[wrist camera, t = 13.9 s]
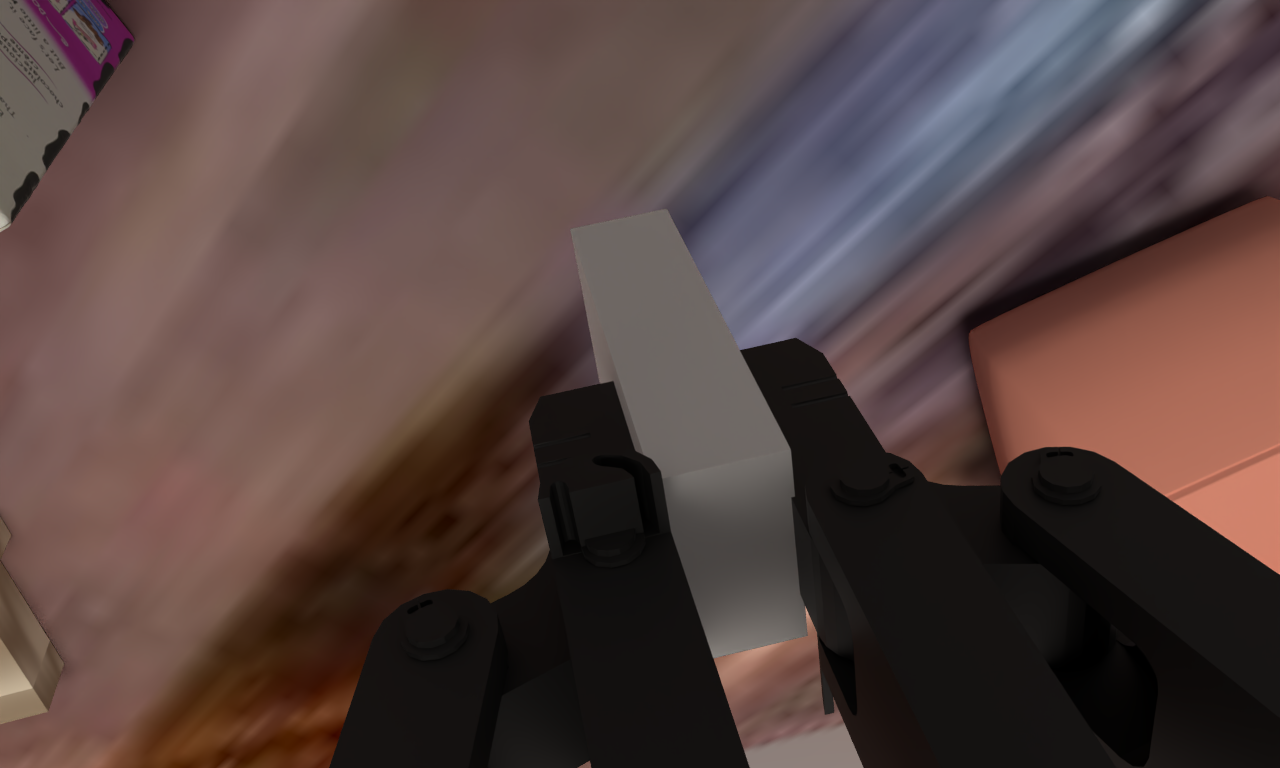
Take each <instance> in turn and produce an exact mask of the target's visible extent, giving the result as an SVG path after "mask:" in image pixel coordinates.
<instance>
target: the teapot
mask: <svg viewBox="0 0 1280 768" xmlns="http://www.w3.org/2000/svg"><path fill="white" fill-rule="evenodd" d="M969 347H970V353H971V359H972V364H973V368H974V373H975V377H976V382H977V386H978V390H979V394H980V398H981V402H982V406H983V410H984V414H985V418H986V422H987V426H988V429H989V433H990V437H991V441H992V445H993V449H994V452H995V456H996V460H997V463H998V467H999V470H1000V474H1001V475H1002V473H1003V472H1004V470H1005V468H1006V466H1007V464H1008V463H1009V462H1010V461H1012V460H1013V459H1015V458H1017V457H1018V456H1020V455H1021V454H1023V453H1025V452H1028V451H1032V450H1036V449H1040V448H1044V447H1074V448H1079V449H1084V450H1089V451H1093V452H1096V453H1098V454H1100V455H1102V456H1104V457H1106V458H1108V459H1110V460H1112V461H1115V462H1116V463H1117V464H1119V465H1120V466H1122V467H1123V468H1125V469H1126V470H1128V471H1129V472H1131V473H1132V474H1134V475H1135V476H1136V477H1138V478H1139V479H1141V480H1142V481H1144V482H1145V483H1147V484H1148V485H1150V486H1151V487H1153V488H1154V489H1155V490H1157V491H1158V492H1160V493H1161V494H1163V495H1164V496H1166V497H1167V498H1169V499H1170V500H1171V501H1173V502H1174V503H1176V504H1177V505H1179V506H1180V507H1182V508H1183V509H1185V510H1186V511H1188V512H1189V513H1190V514H1192V515H1193V516H1195V517H1196V518H1198V519H1199V520H1201V521H1202V522H1204V523H1205V524H1206V525H1208V526H1209V527H1211V528H1212V529H1214V530H1215V531H1217V532H1218V533H1220V534H1221V535H1223V536H1224V537H1225V538H1227V539H1228V540H1230V541H1231V542H1233V543H1234V544H1236V545H1237V546H1239V547H1240V548H1241V549H1243V550H1244V551H1246V552H1247V553H1249V554H1250V555H1252V556H1253V557H1255V558H1256V559H1258V560H1259V561H1260V562H1262V563H1263V564H1265V565H1266V566H1268V567H1269V568H1271V569H1272V570H1274V571H1275V572H1276V573H1278V574H1279V575H1280V200H1278V199H1275V198H1272V197H1270V196H1266V197H1263V198H1260V199H1257V200H1255V201H1252V202H1250V203H1247V204H1245V205H1243V206H1240V207H1238V208H1236V209H1233V210H1231V211H1229V212H1226V213H1224V214H1221V215H1219V216H1217V217H1215V218H1212V219H1210V220H1208V221H1206V222H1203V223H1201V224H1199V225H1197V226H1194V227H1192V228H1190V229H1188V230H1185V231H1183V232H1181V233H1179V234H1176V235H1174V236H1172V237H1170V238H1167V239H1165V240H1163V241H1161V242H1158V243H1156V244H1154V245H1152V246H1150V247H1147V248H1145V249H1143V250H1141V251H1138V252H1136V253H1134V254H1132V255H1129V256H1127V257H1125V258H1123V259H1120V260H1118V261H1116V262H1114V263H1111V264H1109V265H1107V266H1105V267H1103V268H1101V269H1098V270H1096V271H1094V272H1092V273H1090V274H1088V275H1085V276H1083V277H1081V278H1079V279H1077V280H1075V281H1072V282H1070V283H1068V284H1066V285H1064V286H1062V287H1059V288H1057V289H1055V290H1053V291H1051V292H1049V293H1046V294H1044V295H1042V296H1040V297H1038V298H1036V299H1033V300H1031V301H1029V302H1027V303H1025V304H1023V305H1020V306H1018V307H1016V308H1014V309H1012V310H1010V311H1008V312H1006V313H1004V314H1002V315H999V316H997V317H995V318H993V319H991V320H989V321H987V322H985V323H983V324H981V325H979V326H977V327H976V328H974V329H972V330H970V333H969Z"/></svg>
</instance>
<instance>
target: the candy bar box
mask: <svg viewBox="0 0 1280 768" xmlns="http://www.w3.org/2000/svg"><path fill="white" fill-rule="evenodd" d="M133 43H134V38H133V36H132V35H131V33H130V32H129V31H128V29H127V28H126V27H125V26H124V24H123V23H122V22H121V21H120V20H119V18H118V17H117V16H116V15H115V14H114V12H113V11H112V10H111V9H110V7H109V6H108V5H107V4H106V3H105V1H104V0H0V232H1V231H3V230H4V229H6V228H8V227H9V226H10V225H11V223H12V222H13V221H14V219H15V218H16V216H17V214H18V213H19V212H20V210H21V208H22V207H23V205H24V204H25V203H26V202H27V200H28V199H29V198H30V196H31V194H32V193H33V191H34V189H35V188H36V187H37V185H38V183H39V182H40V180H41V179H42V177H43V175H44V174H45V172H46V171H47V169H48V168H49V166H50V165H51V163H52V162H53V160H54V159H55V157H56V156H57V155H58V153H59V151H60V150H61V149H62V148H63V146H64V144H65V143H66V141H67V140H68V139H69V137H70V135H71V134H72V133H73V131H74V129H75V128H76V127H77V126H78V124H79V123H80V122H81V119H82V118H83V116H84V115H85V114H86V112H87V111H88V110H89V108H90V106H91V105H92V103H93V102H94V100H95V99H96V97H97V96H98V94H99V93H100V92H101V90H102V89H103V87H104V86H105V84H106V83H107V81H108V80H109V79H110V77H111V76H112V74H113V73H114V71H115V70H116V68H117V67H118V65H119V64H120V63H121V62H122V60H123V59H124V57H125V56H126V55H127V53H128V52H129V50H130V48H131V47H132V45H133Z"/></svg>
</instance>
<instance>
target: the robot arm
mask: <svg viewBox="0 0 1280 768" xmlns="http://www.w3.org/2000/svg"><path fill="white" fill-rule="evenodd" d="M570 230H571V235H572V240H573V246H574V251H575V256H576V261H577V267H578V272H579V277H580V282H581V287H582V293H583V298H584V303H585V308H586V313H587V319H588V324H589V329H590V334H591V340H592V345H593V350H594V355H595V360H596V366H597V371H598V376H599V381H600V384H597V385H592V386H588V387H583V388H579V389H574V390H570V391H565V392H561V393H556V394H551V395H547V396H542V397H540V399H539V401H538V403H537V405H536V407H535V409H534V411H533V414H532V416H531V418H530V420H529V425H530V430H531V436H532V441H533V446H534V452H535V457H536V463H537V467H538V473H539V479H540V488H539V496H538V502H539V506H540V510H541V514H542V519H543V523H544V527H545V531H546V535H547V539H548V543H549V548H550V551H549V554H548V557H547V559H546V562H545V563H544V565H543V566H542V567H541V569H540V570H539V572H538V573H537V574H536V575H535V576H534V577H533V578H532V579H531V580H529V581H528V582H527V583H526V584H525V585H524V586H522V587H520V588H519V589H517V590H515V591H514V592H512V593H510V594H509V595H507V596H505V597H503V598H501V599H499V600H497V601H495V602H493V603H491V604H490V602H489V601H488V600H487V599H486V598H483V597H481V596H479V595H477V594H475V593H473V592H471V591H462V590H449V589H447V590H442V591H437V592H432V593H427V594H423V595H421V596H419V597H417V598H415V599H413V600H411V601H409V602H406V603H404V604H402V605H401V606H399V607H398V608H397V609H396V610H395V611H394V612H393V613H391V614H390V615H389V616H388V617H387V618H386V619H384V620H383V622H382V624H381V625H380V627H379V629H378V630H377V632H376V634H375V635H374V637H373V639H372V642H371V645H370V648H369V651H368V654H367V657H366V660H365V663H364V666H363V669H362V672H361V675H360V678H359V681H358V684H357V687H356V690H355V693H354V696H353V699H352V702H351V705H350V708H349V711H348V714H347V717H346V720H345V723H344V726H343V728H342V731H341V734H340V737H339V740H338V743H337V746H336V749H335V752H334V755H333V758H332V761H331V764H330V767H329V768H577V767H579V766H581V765H583V764H585V763H586V762H588V761H590V763H591V768H750V767H749V765H748V762H747V758H746V755H745V752H744V749H743V746H742V743H741V740H740V737H739V734H738V731H737V728H736V725H735V722H734V719H733V716H732V713H731V710H730V707H729V704H728V701H727V698H726V695H725V692H724V689H723V686H722V683H721V680H720V677H719V674H718V671H717V668H716V665H715V662H714V659H713V658H717V657H721V656H726V655H730V654H734V653H738V652H742V651H746V650H750V649H755V648H759V647H763V646H767V645H771V644H775V643H780V642H784V641H788V640H792V639H796V638H800V637H804V636H808V634H807V623H806V612H805V606H806V608H807V611H808V613H809V615H810V617H811V620H812V622H813V624H814V626H815V629H816V631H817V637H818V649H819V661H820V673H821V685H822V697H823V704H824V711H825V715H826V714H830V713H834V702H833V697H834V700H835V702H836V704H837V707H838V709H839V711H840V714H841V716H842V718H843V721H844V723H845V725H846V728H847V730H848V732H849V735H850V737H851V739H852V742H853V744H854V746H855V748H856V751H857V753H858V756H859V758H860V760H861V762H862V765H863V767H864V768H1280V575H1279V574H1278V573H1276V572H1275V571H1274V570H1272V569H1271V568H1269V567H1268V566H1266V565H1265V564H1263V563H1262V562H1260V561H1259V560H1258V559H1256V558H1255V557H1253V556H1252V555H1250V554H1249V553H1247V552H1246V551H1244V550H1243V549H1241V548H1240V547H1239V546H1237V545H1236V544H1234V543H1233V542H1231V541H1230V540H1228V539H1227V538H1225V537H1224V536H1223V535H1221V534H1220V533H1218V532H1217V531H1215V530H1214V529H1212V528H1211V527H1209V526H1208V525H1206V524H1205V523H1204V522H1202V521H1201V520H1199V519H1198V518H1196V517H1195V516H1193V515H1192V514H1190V513H1189V512H1188V511H1186V510H1185V509H1183V508H1182V507H1180V506H1179V505H1177V504H1176V503H1174V502H1173V501H1171V500H1170V499H1169V498H1167V497H1166V496H1164V495H1163V494H1161V493H1160V492H1158V491H1157V490H1155V489H1154V488H1153V487H1151V486H1150V485H1148V484H1147V483H1145V482H1144V481H1142V480H1141V479H1139V478H1138V477H1136V476H1135V475H1134V474H1132V473H1131V472H1129V471H1128V470H1126V469H1125V468H1123V467H1122V466H1120V465H1119V464H1117V463H1116V462H1115V461H1112V460H1110V459H1108V458H1106V457H1104V456H1102V455H1100V454H1098V453H1096V452H1093V451H1089V450H1084V449H1079V448H1074V447H1044V448H1040V449H1036V450H1032V451H1028V452H1025V453H1023V454H1021V455H1020V456H1018V457H1017V458H1015V459H1013V460H1012V461H1010V462H1009V463H1008V464H1007V466H1006V468H1005V470H1004V472H1003V473H1002V475H1001V486H955V485H942V484H937V483H933V482H928V481H927V480H926V478H925V477H924V475H923V474H922V472H920V471H919V470H918V469H917V468H916V467H915V466H914V465H913V464H912V463H911V462H910V461H908V460H905V459H903V458H901V457H898V456H896V455H893V454H891V453H886V452H885V450H884V449H883V447H882V446H881V444H880V443H879V441H878V439H877V438H876V436H875V435H874V433H873V432H872V430H871V428H870V427H869V425H868V424H867V422H866V421H865V419H864V417H863V416H862V414H861V413H860V411H859V410H858V408H857V406H856V405H855V403H854V402H853V400H852V399H851V397H850V396H848V394H847V391H846V389H845V388H844V386H843V384H842V383H841V381H840V380H839V379H837V376H836V373H835V372H834V370H833V369H832V367H831V366H830V364H829V362H828V361H827V359H826V358H825V356H824V355H823V353H821V352H819V351H818V350H816V349H814V348H813V347H811V346H809V345H807V344H806V343H804V342H802V341H800V340H799V339H797V338H794V339H789V340H784V341H780V342H775V343H771V344H766V345H762V346H757V347H753V348H748V349H744V350H739V348H738V346H737V344H736V342H735V340H734V338H733V336H732V334H731V333H730V331H729V329H728V327H727V325H726V323H725V321H724V319H723V317H722V315H721V313H720V311H719V309H718V307H717V305H716V303H715V302H714V300H713V298H712V296H711V294H710V292H709V290H708V288H707V286H706V284H705V282H704V280H703V278H702V276H701V274H700V272H699V271H698V269H697V267H696V265H695V263H694V261H693V259H692V257H691V255H690V253H689V251H688V249H687V247H686V245H685V243H684V241H683V240H682V238H681V236H680V234H679V232H678V230H677V228H676V226H675V224H674V222H673V220H672V218H671V216H670V214H669V212H668V210H667V209H663V210H658V211H654V212H649V213H644V214H639V215H634V216H630V217H625V218H620V219H615V220H611V221H606V222H601V223H596V224H591V225H587V226H582V227H577V228H572V229H570Z"/></svg>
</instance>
